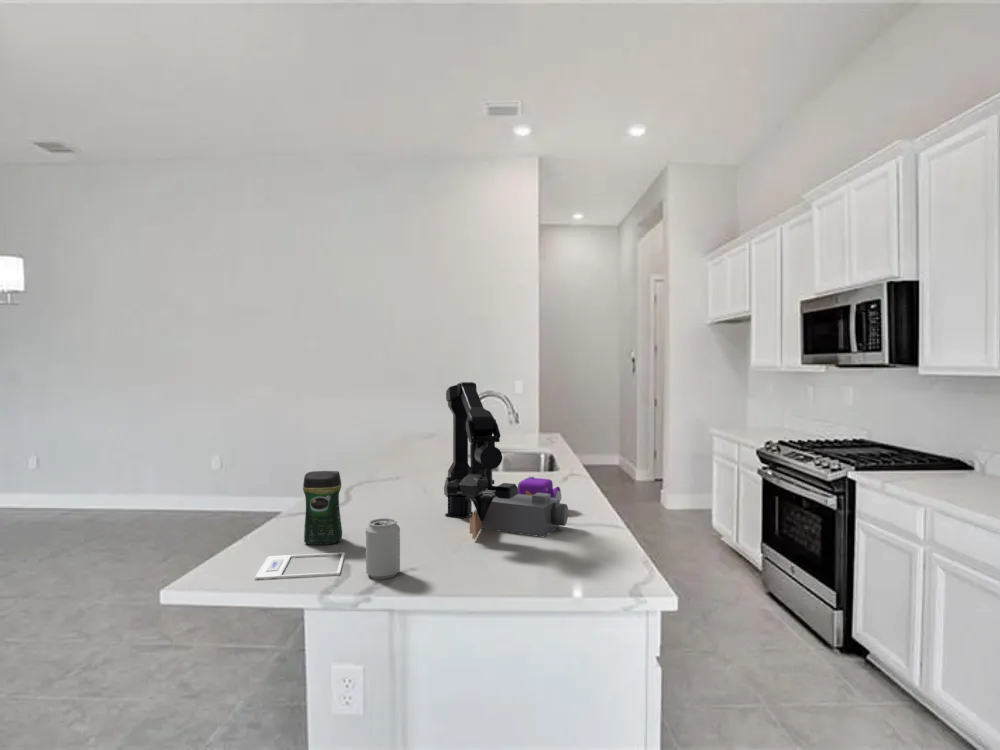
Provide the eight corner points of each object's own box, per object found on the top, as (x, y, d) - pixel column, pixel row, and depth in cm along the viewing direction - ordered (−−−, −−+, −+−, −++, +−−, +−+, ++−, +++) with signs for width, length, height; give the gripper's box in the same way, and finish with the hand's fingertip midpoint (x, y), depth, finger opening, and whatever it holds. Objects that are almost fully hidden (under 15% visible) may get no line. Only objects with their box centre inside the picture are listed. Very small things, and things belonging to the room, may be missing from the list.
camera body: (478, 527, 174) (478, 494, 173) (496, 518, 185) (497, 486, 184) (554, 538, 164) (554, 503, 164) (569, 527, 175) (569, 494, 174)
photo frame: (268, 555, 148) (344, 551, 151) (268, 559, 148) (344, 556, 151) (254, 576, 133) (339, 571, 136) (254, 581, 133) (339, 576, 136)
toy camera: (559, 515, 188) (560, 483, 188) (516, 513, 191) (516, 481, 190) (563, 507, 199) (563, 476, 198) (521, 504, 201) (521, 474, 201)
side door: (476, 525, 173) (476, 503, 173) (482, 525, 173) (482, 503, 173) (469, 538, 161) (469, 514, 161) (475, 538, 161) (475, 514, 160)
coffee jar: (344, 536, 165) (343, 468, 165) (338, 545, 158) (338, 473, 157) (307, 537, 165) (307, 468, 164) (300, 546, 157) (299, 474, 156)
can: (368, 568, 140) (368, 516, 140) (401, 567, 141) (401, 516, 140) (363, 580, 133) (363, 526, 132) (398, 579, 133) (398, 525, 133)
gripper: (435, 465, 159) (436, 525, 159) (500, 470, 151) (501, 533, 151) (456, 458, 169) (457, 514, 169) (518, 462, 161) (519, 521, 161)
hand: (482, 520), depth 163 cm, fingers closed
